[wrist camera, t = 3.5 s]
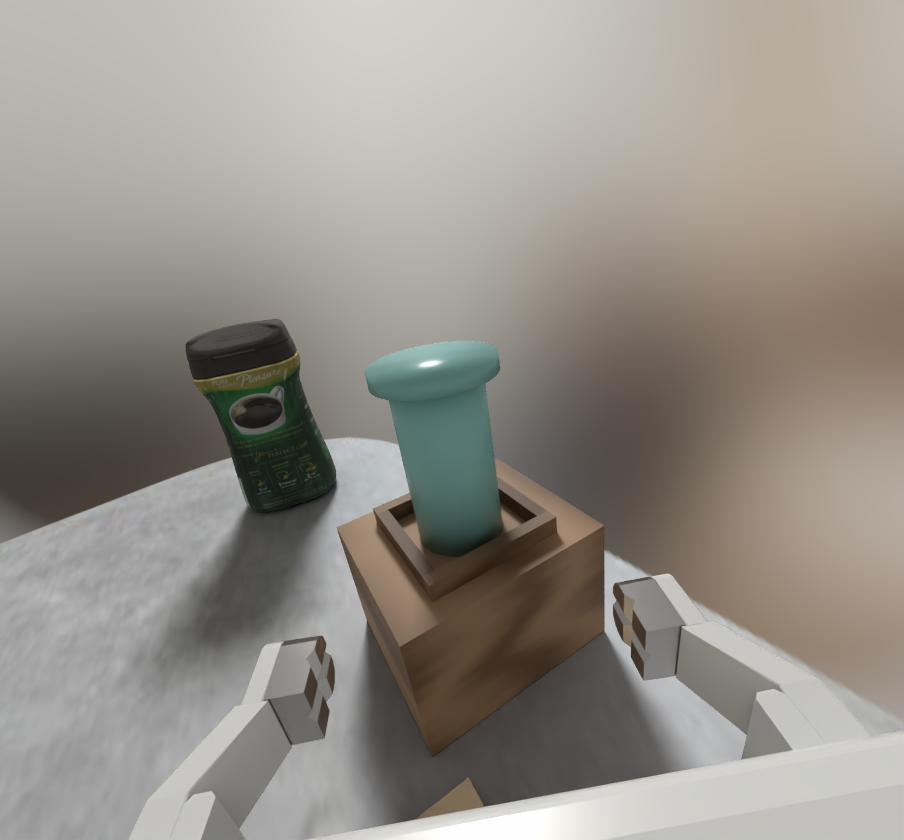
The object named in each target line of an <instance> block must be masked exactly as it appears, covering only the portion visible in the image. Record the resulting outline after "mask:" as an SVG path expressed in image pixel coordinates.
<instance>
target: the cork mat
mask: <svg viewBox="0 0 904 840" xmlns="http://www.w3.org/2000/svg"><path fill="white" fill-rule="evenodd" d="M481 807H484V805H483V803H482V801H481V799H480V798H479V796H478V794H477V792H476V790H475V788H474V786H473V784H472V782H471V781H470V779H469V777H468V778H467V779H465V780H464V781H463V782H462V783H460V784H459V785H458V786H456V787H455V788H454V789H453V790H451V791H450V792H449V793H448V794H446V795H445V796H444V797H443V798H441V799H440V800H439V801H437V802H436V803H435V804H434V805H432V806H431V807H430V808H429V809H427V810H426V811H425V812H423V813H422V814H421V815H420V816H418V817H417V818H416V819H421V818H427V817H432V816H438V815H443V814H448V813H454V812H459V811H465V810H470V809H475V808H481ZM416 819H415V820H416Z"/></svg>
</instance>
